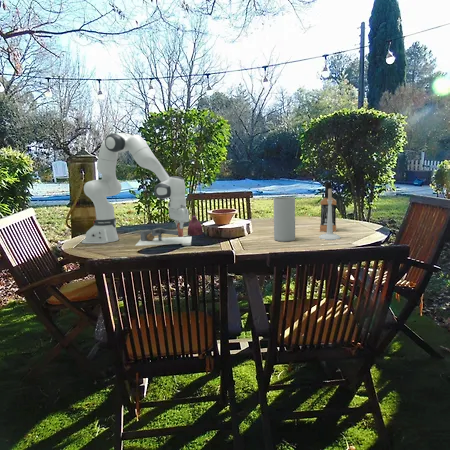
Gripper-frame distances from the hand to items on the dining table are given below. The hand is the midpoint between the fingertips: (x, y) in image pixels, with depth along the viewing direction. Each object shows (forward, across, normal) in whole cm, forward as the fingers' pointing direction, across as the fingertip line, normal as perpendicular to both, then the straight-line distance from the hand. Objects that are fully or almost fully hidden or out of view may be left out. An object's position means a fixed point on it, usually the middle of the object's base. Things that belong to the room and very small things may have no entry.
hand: (179, 228), depth 229 cm
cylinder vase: (+10, -27, -56) cm, 63 cm away
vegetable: (+10, +26, -23) cm, 36 cm away
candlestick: (+10, -41, -79) cm, 90 cm away
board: (+10, +12, +5) cm, 17 cm away
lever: (+5, +7, +4) cm, 10 cm away
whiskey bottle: (+10, -22, -97) cm, 100 cm away
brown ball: (+9, +19, +11) cm, 24 cm away
